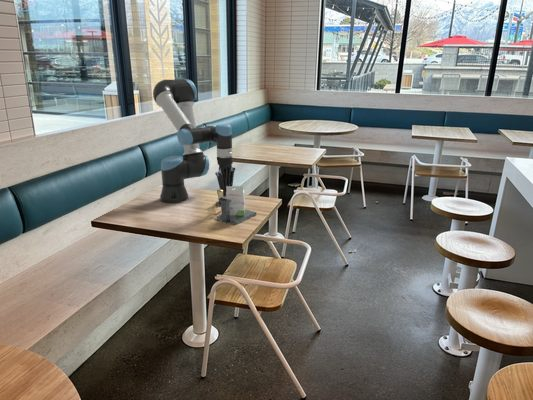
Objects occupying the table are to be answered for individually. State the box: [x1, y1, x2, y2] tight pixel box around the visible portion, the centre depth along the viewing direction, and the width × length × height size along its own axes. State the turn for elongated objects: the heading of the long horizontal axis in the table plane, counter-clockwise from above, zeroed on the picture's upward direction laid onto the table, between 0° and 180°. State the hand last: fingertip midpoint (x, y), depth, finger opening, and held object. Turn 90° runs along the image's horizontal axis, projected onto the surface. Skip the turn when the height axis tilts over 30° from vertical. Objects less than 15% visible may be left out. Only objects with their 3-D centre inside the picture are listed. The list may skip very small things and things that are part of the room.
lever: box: [216, 188, 224, 200], centre depth 207 cm, size 17×4×3 cm, turn 9°
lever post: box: [214, 194, 221, 207], centre depth 214 cm, size 6×6×6 cm
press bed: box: [216, 198, 257, 225], centre depth 195 cm, size 12×18×11 cm
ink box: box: [226, 185, 246, 216], centre depth 195 cm, size 9×5×15 cm, turn 84°
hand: (226, 201), depth 206 cm, fingers closed
